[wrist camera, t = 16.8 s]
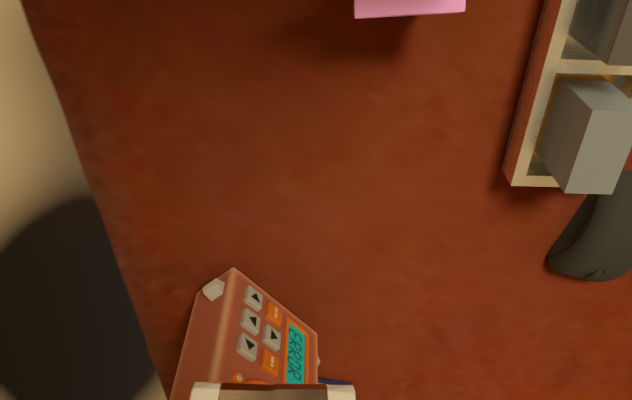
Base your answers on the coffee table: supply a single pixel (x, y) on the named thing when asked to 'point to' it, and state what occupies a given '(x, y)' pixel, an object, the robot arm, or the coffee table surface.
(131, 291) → the coffee table surface
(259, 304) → the control panel
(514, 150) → the tray
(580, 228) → the computer mouse
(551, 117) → the grey block
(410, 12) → the toy chair
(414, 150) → the coffee table surface
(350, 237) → the coffee table surface
